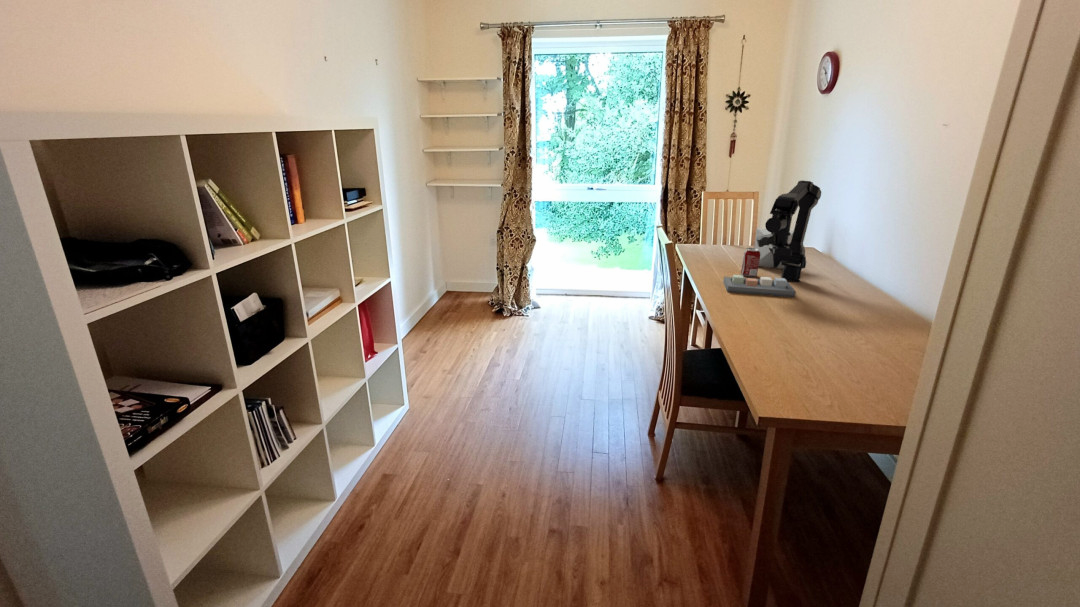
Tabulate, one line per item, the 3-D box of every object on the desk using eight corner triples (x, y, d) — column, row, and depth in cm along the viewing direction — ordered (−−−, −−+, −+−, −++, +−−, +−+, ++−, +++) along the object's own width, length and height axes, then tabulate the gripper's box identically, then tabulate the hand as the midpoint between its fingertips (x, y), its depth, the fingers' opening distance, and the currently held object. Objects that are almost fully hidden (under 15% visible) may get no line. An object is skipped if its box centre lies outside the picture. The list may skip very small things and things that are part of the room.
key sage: (741, 281, 209) (742, 275, 209) (743, 284, 206) (744, 277, 205) (731, 280, 210) (732, 274, 209) (733, 283, 207) (734, 277, 206)
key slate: (783, 284, 206) (784, 278, 206) (785, 287, 203) (787, 281, 202) (773, 283, 207) (774, 277, 206) (775, 286, 204) (776, 280, 203)
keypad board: (786, 287, 211) (787, 281, 211) (794, 297, 199) (795, 291, 198) (723, 282, 216) (724, 276, 215) (727, 292, 203) (728, 286, 202)
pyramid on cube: (755, 263, 230) (760, 223, 229) (749, 267, 253) (753, 231, 253) (795, 267, 225) (801, 226, 225) (785, 270, 249) (790, 234, 248)
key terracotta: (755, 284, 209) (756, 278, 208) (756, 287, 205) (757, 281, 204) (745, 284, 210) (746, 277, 209) (746, 286, 206) (747, 280, 205)
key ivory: (769, 283, 207) (770, 277, 207) (771, 286, 204) (772, 280, 203) (759, 282, 208) (760, 276, 207) (761, 285, 205) (762, 279, 204)
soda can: (759, 277, 224) (763, 251, 219) (743, 277, 224) (747, 250, 220) (753, 273, 230) (757, 247, 226) (738, 273, 230) (742, 247, 226)
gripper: (756, 223, 208) (750, 260, 214) (763, 232, 191) (757, 272, 197) (785, 224, 206) (778, 261, 211) (795, 234, 189) (788, 274, 194)
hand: (775, 267), depth 203 cm, fingers closed
